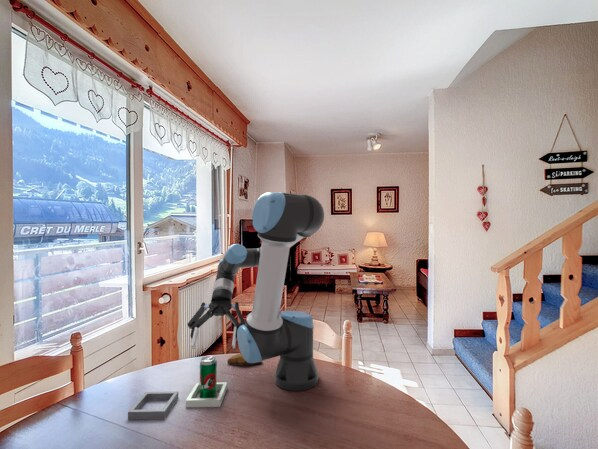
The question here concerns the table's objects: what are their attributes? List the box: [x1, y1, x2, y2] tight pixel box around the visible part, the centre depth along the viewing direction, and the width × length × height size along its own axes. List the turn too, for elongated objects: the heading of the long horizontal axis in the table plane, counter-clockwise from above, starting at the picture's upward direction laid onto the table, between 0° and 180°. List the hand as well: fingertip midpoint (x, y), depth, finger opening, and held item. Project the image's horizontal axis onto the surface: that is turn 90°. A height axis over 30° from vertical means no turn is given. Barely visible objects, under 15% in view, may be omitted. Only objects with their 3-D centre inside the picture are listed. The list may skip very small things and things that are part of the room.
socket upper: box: [127, 391, 179, 420], centre depth 85 cm, size 10×10×2 cm
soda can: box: [198, 355, 218, 398], centre depth 91 cm, size 5×5×12 cm
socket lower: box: [185, 381, 228, 408], centre depth 91 cm, size 10×10×2 cm
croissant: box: [227, 352, 262, 366], centre depth 115 cm, size 14×7×5 cm, turn 92°
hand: (213, 347), depth 98 cm, fingers open, 13 cm apart
